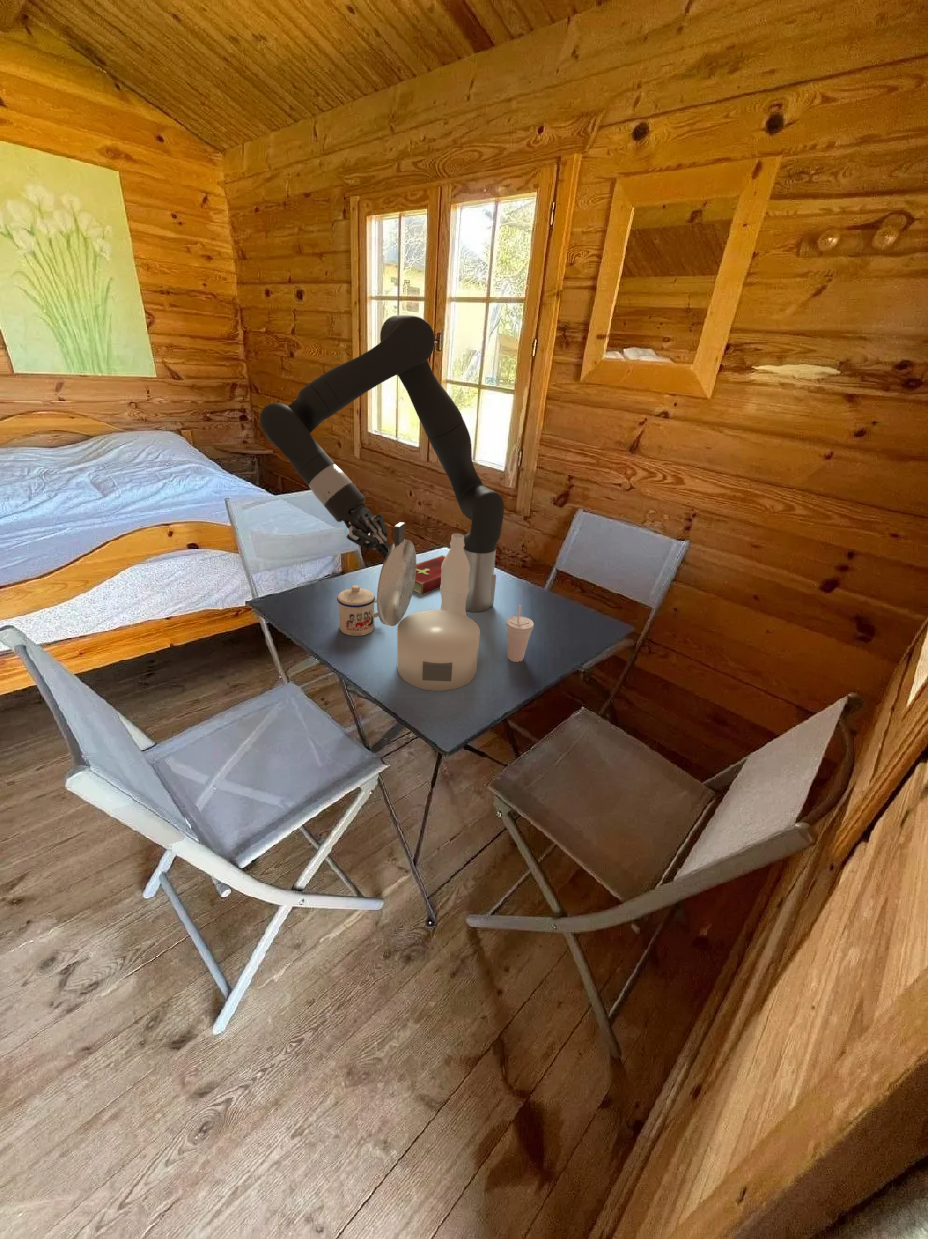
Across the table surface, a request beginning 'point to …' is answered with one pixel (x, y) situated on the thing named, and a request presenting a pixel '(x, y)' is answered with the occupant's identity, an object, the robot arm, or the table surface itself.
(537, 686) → the table surface
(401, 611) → the cooker lid
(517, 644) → the smoothie
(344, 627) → the teacup with lid
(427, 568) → the hardcover book
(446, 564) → the water bottle
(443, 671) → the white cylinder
